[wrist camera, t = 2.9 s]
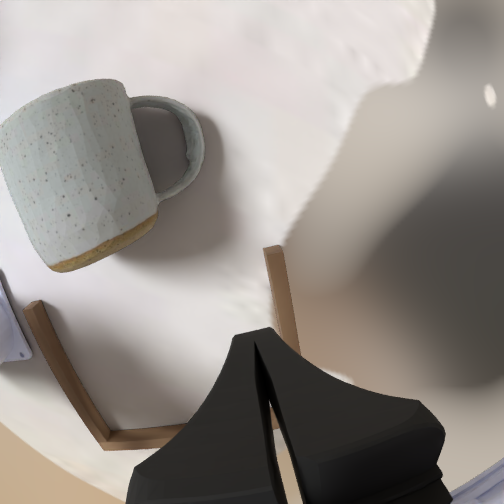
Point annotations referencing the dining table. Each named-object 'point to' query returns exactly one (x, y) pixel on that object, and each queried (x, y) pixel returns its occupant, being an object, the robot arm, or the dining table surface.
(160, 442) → the walnut bay
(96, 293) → the dining table surface
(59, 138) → the ceramic mug
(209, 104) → the dining table surface
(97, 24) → the dining table surface
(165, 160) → the dining table surface
